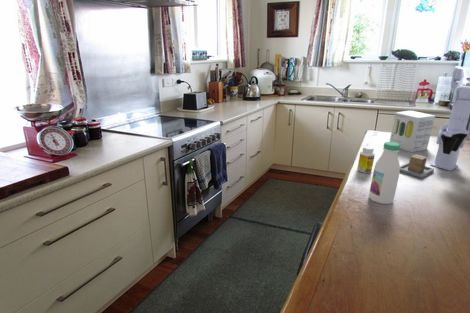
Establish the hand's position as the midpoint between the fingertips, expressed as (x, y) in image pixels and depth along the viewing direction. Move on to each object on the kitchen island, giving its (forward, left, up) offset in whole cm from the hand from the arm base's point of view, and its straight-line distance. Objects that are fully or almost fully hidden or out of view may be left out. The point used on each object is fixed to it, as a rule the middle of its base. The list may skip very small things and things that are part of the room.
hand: (449, 152), depth 124 cm
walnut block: (+4, -9, -10) cm, 14 cm away
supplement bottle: (+21, -22, -11) cm, 32 cm away
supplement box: (-28, -26, -11) cm, 40 cm away
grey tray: (+4, -9, -10) cm, 15 cm away
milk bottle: (+40, -5, -11) cm, 42 cm away
